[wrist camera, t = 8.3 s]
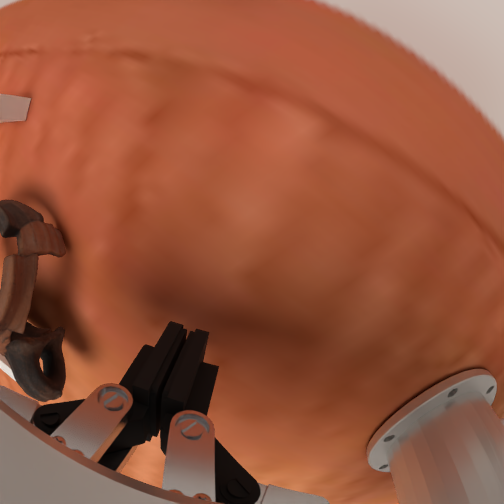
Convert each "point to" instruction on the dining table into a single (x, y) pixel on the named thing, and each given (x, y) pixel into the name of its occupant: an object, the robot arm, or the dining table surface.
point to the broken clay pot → (29, 304)
